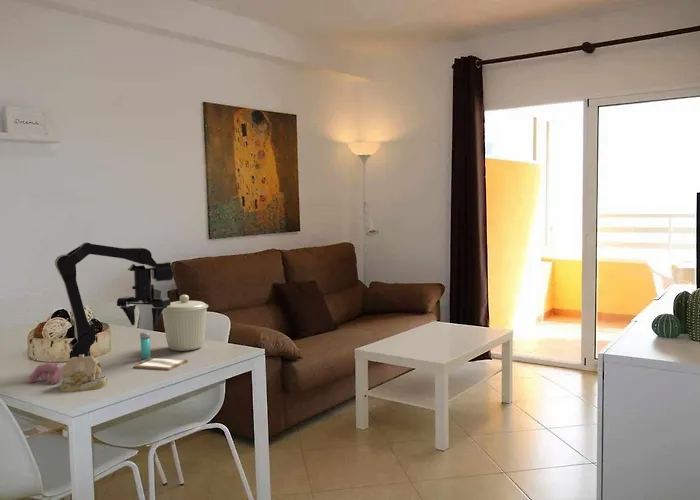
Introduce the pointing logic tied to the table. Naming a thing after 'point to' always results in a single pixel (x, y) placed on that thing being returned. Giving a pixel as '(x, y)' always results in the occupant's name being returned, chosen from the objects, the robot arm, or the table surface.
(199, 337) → the canister
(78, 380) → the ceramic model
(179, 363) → the clipboard
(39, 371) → the pink lumpy arch
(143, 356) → the marker
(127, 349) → the table surface
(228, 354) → the table surface
